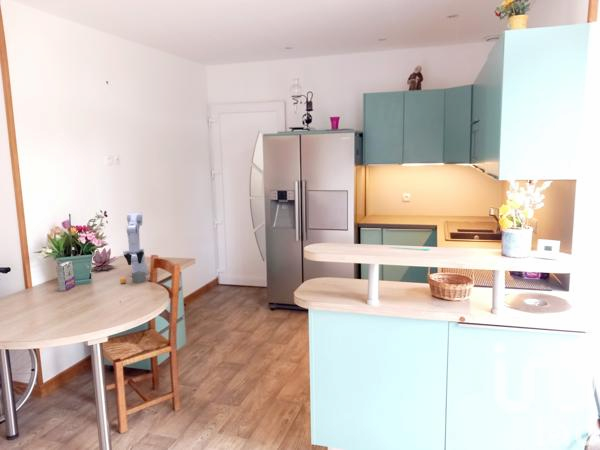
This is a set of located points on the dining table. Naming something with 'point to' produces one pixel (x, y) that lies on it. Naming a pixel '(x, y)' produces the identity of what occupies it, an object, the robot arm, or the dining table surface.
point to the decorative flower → (103, 260)
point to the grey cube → (138, 277)
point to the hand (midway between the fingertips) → (134, 264)
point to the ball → (123, 280)
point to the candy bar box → (65, 276)
